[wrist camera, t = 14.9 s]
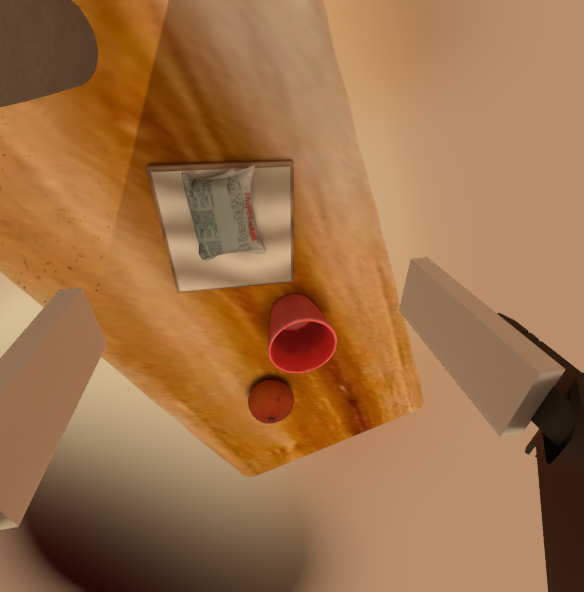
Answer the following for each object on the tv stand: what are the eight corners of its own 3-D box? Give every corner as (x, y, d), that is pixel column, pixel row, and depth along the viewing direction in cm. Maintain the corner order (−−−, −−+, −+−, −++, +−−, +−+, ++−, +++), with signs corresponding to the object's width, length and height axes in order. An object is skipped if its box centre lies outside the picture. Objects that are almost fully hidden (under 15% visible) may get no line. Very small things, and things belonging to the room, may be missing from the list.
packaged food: (253, 161, 38) (256, 169, 34) (264, 248, 45) (267, 264, 41) (181, 168, 37) (176, 177, 33) (203, 256, 44) (201, 273, 40)
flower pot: (249, 317, 54) (252, 356, 46) (292, 273, 50) (304, 307, 42) (292, 343, 59) (302, 383, 51) (333, 306, 55) (351, 341, 47)
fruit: (239, 394, 64) (240, 428, 57) (263, 366, 61) (268, 399, 54) (273, 406, 68) (278, 439, 61) (298, 380, 65) (306, 413, 58)
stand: (149, 164, 38) (145, 167, 37) (291, 159, 41) (294, 162, 39) (178, 287, 48) (177, 294, 46) (292, 277, 51) (294, 283, 49)
